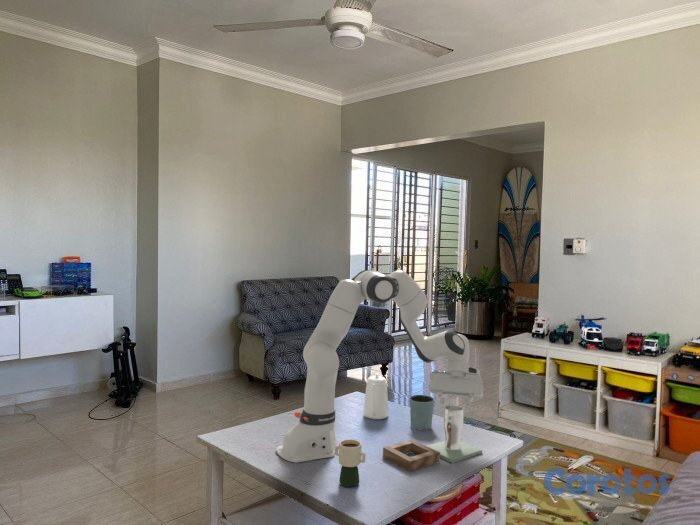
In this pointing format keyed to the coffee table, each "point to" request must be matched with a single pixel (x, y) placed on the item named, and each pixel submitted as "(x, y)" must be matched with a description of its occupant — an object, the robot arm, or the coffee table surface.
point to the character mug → (349, 461)
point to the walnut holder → (422, 458)
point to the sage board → (455, 455)
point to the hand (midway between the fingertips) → (455, 404)
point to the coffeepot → (376, 398)
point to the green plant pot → (421, 411)
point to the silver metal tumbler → (453, 427)
